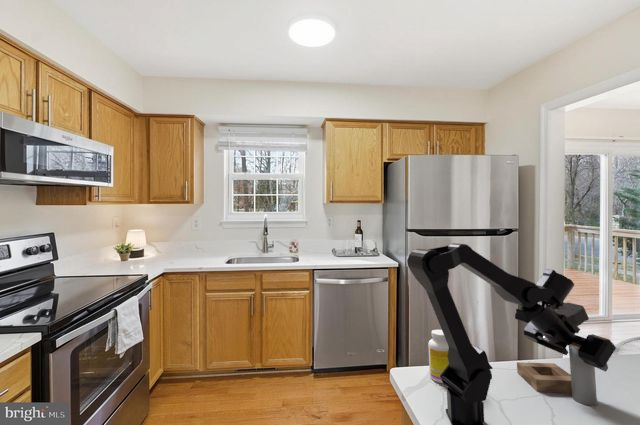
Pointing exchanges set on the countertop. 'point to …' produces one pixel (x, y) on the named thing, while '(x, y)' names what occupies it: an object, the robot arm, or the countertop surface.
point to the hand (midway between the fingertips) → (585, 361)
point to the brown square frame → (545, 377)
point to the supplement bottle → (438, 355)
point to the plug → (582, 379)
